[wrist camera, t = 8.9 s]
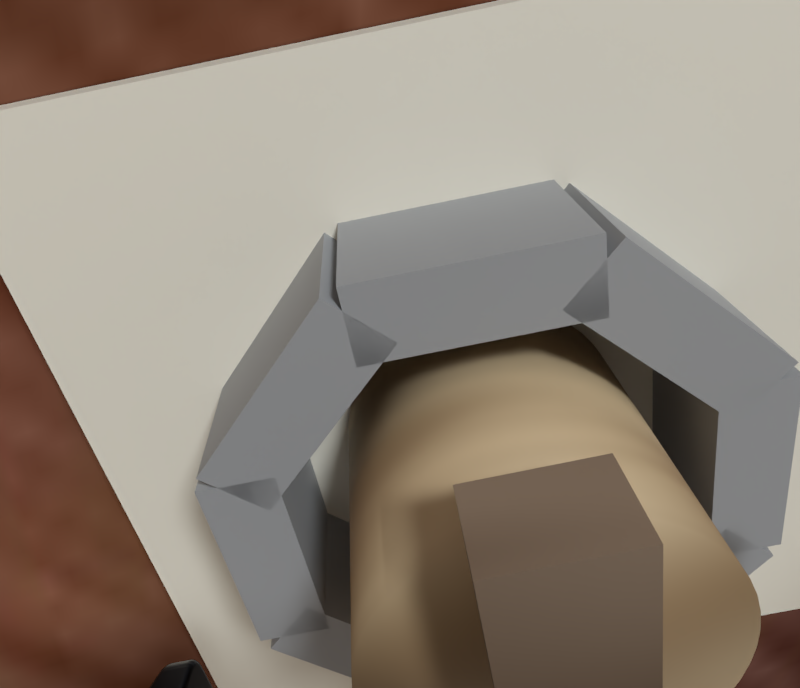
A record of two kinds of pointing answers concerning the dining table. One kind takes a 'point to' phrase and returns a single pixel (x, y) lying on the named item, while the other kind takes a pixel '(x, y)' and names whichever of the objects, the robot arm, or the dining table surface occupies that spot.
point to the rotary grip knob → (531, 531)
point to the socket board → (411, 275)
